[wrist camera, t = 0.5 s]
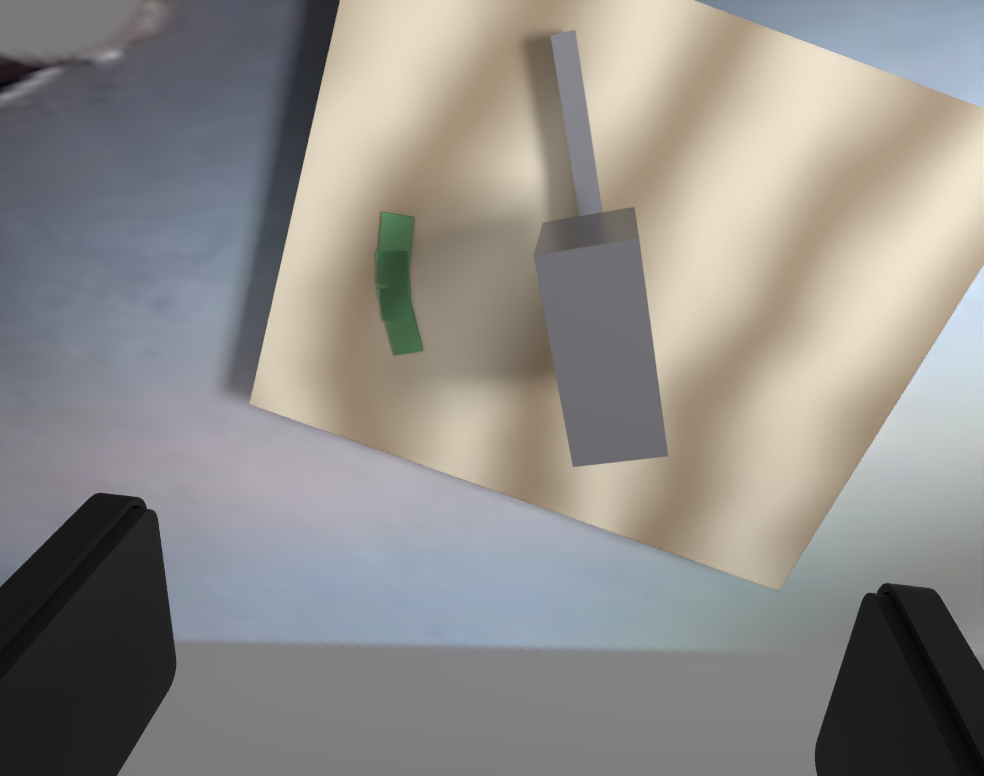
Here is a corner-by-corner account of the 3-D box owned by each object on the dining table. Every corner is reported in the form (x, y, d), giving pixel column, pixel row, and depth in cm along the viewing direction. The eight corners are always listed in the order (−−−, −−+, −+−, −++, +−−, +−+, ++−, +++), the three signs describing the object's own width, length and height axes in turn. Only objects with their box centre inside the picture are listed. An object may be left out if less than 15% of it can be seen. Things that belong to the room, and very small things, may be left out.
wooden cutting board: (1034, 129, 29) (1064, 138, 27) (770, 563, 38) (779, 592, 36) (382, -114, 28) (366, -123, 26) (266, 384, 37) (248, 405, 35)
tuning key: (656, 369, 32) (668, 456, 26) (578, 380, 33) (572, 467, 26) (609, 22, 27) (611, 27, 21) (519, 41, 28) (495, 51, 22)
